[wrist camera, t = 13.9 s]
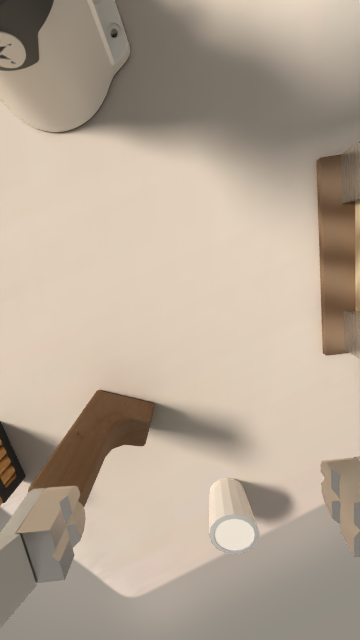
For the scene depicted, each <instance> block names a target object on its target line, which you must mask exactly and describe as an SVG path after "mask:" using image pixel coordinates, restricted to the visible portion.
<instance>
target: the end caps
mask: <svg viewBox="0 0 360 640" xmlns="http://www.w3.org/2000/svg"><path fill="white" fill-rule="evenodd" d="M341 169H342V204H343V203H349V202H353V201H355V200H358V199H360V142H358V143H357V144H356V145H354V146H353V147H351V148H350V149H348V150H347V151H346V152H344V153H343V154H341ZM344 350H346V351H347V352H349V353H351V354H353V355H354V356H356V357H358V358H360V312H357V311H354V310H346V311H344Z"/></svg>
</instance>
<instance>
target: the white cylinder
mask: <svg viewBox="0 0 360 640" xmlns="http://www.w3.org/2000/svg"><path fill="white" fill-rule="evenodd" d="M209 536H210V539H211V543H212V544H213V545H214V546H215V547H216V548H217V549H219V550H220V551H222V552H224V553H230V554H238V553H244V552H246V551H248V550H249V549H251V548H252V547H253V546H254V545H255V544H256V543H257V541H258V537H259V531H258V526H257V524H256V521H255V518H254V515H253V513H252V510H251V507H250V504H249V502H248V499H247V496H246V493H245V490H244V488H243V486H242V485H241V483H240V482H239V481H237V480H235V479H232V478H223V479H219V480H218V481H216V482H214V484H213V485H212V486H211V489H210V510H209Z"/></svg>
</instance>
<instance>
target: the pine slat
mask: <svg viewBox="0 0 360 640" xmlns="http://www.w3.org/2000/svg"><path fill="white" fill-rule="evenodd" d="M355 284H356V311H357V312H360V199H358V200H355Z"/></svg>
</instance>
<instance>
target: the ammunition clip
mask: <svg viewBox="0 0 360 640" xmlns="http://www.w3.org/2000/svg"><path fill="white" fill-rule="evenodd" d="M24 478H25V474H24V471H23V469H22V467H21V465H20V463H19V461H18V459H17V456H16V454H15V452H14V450H13V448H12V446H11V444H10V441H9V439H8V437H7V435H6V433H5V431H4V428H3V426H2V424H1V422H0V505H1V504H2V503H5V502H6V501H7V499H8V498H9V497H10V495H11V494H12V493H13V492H14V491H15V489H16V488H17V487H18V486H19V484H20V483H21V482H22V481H23V480H24Z"/></svg>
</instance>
